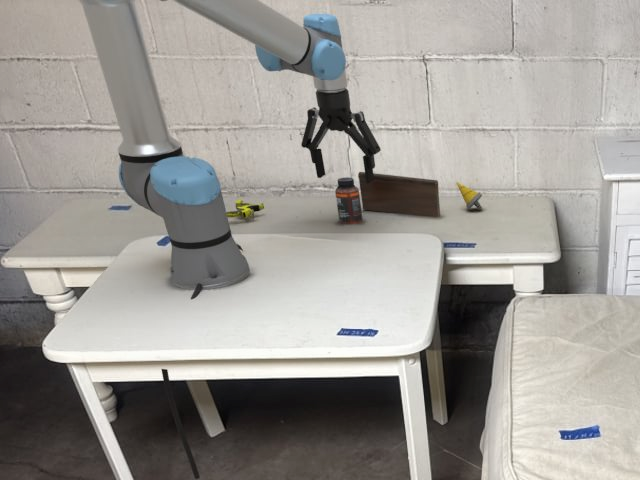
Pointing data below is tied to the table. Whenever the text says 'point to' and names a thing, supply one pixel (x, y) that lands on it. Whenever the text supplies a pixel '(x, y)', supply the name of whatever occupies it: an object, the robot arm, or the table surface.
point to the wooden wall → (400, 195)
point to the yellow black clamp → (245, 209)
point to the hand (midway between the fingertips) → (345, 179)
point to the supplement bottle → (348, 202)
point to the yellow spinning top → (470, 196)
